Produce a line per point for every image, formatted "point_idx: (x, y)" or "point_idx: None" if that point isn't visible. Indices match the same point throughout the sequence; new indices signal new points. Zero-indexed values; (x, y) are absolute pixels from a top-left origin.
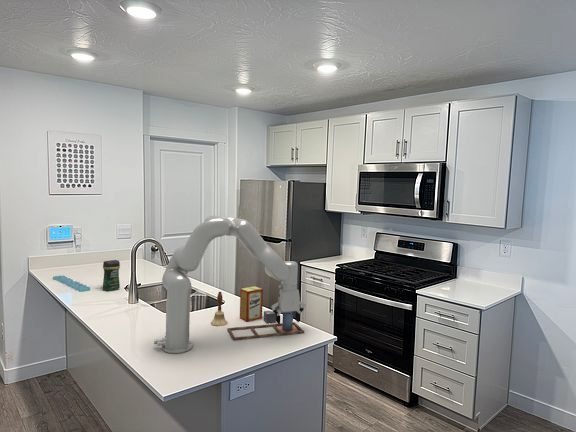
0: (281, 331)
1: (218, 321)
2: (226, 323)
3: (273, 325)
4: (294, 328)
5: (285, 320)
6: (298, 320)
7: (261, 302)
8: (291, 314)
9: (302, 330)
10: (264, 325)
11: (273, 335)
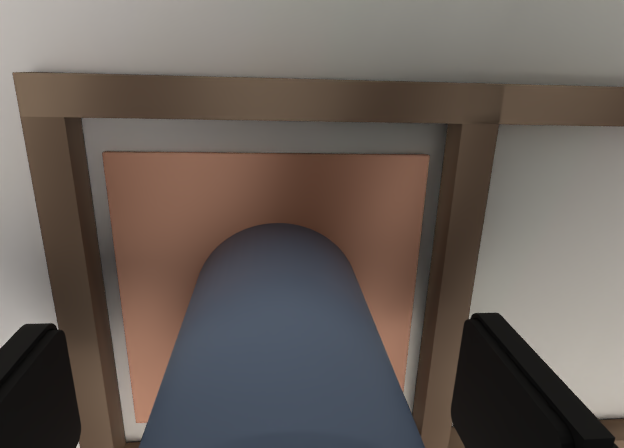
0: (400, 236)
1: None
2: None
3: (443, 427)
4: (153, 306)
5: (373, 342)
6: (24, 343)
7: None
8: (210, 443)
9: (42, 124)
10: None
11: (608, 87)
